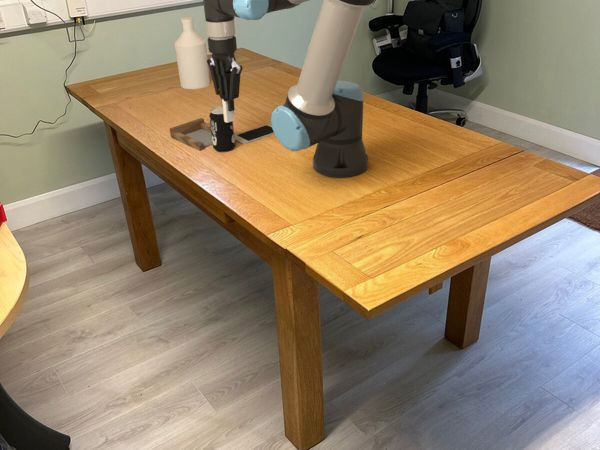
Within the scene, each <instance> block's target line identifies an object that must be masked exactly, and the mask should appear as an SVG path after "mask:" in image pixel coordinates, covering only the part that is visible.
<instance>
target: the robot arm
mask: <svg viewBox="0 0 600 450" xmlns="http://www.w3.org/2000/svg"><path fill="white" fill-rule="evenodd" d="M202 1H203V10H204V17H205V18H204V19H205V21H204V22H205V30H206V36H207V37H208V38H207V47H208V49H207V50H208V52H209V53H210V54H211V58H209V59H208V60H207V64H208V68H209V73H210V74H211V79H212V84H213V88H214V92H215V95H217V96H219V98H220V100H221V106H222V108H223V114H224V122H227V123H228V122H231V121H233V122H234V121H236V116H235V110H236V109H235V99H239V97H240V87H241V75H242V74H241V73H242V72H243V66H242V64H241V65H238V64H237V62H236V61H237V59H236V56H235V53H236V52H237V50H238V47H237V37H236V36H235V34H236V25H235V18H240V19H243V20H246V21H259V20H261V19H262V18H263V17H264V16H265V15H266V14H269V13H273V12H277V11H282V10H289V9H290V10H291V9H293V8H295V7H298V6H300V5H302V3H305V2H309V1H310V0H202ZM375 1H376V0H322V2H321V5H320V9H319V12H318V17H317V19H316V22H315V25H314V28H313V31H312V36H311V39H310V40H309V45H308V48H307V51H306V55H305V58H304V61H303V65H302V68H301V71H300V75H299V78H298V81H297V84H294V85H292V86H291V87H290V88H289V89H288V92H287V95H286V98H285V102H284V103H283V105H277V107H276V108H274V109H273V111H272V113H271V117H270V118H271V119H270V121H271V123H270V124H272V129H273V131H274V133H275V134H274V135H275V136H274V137H276V138H275V139H277V140H278V142H279V144H280V145H282V147H283V148H285V149H287V150H289V151H292V152H300V151H303V150H307V149H309V148H311V147H312V146H315V145H316V147H315V152H314V154H313V157H312V168H313V170H315V172H316V173H318V174H321V175H322V176H326V177H331V178H348V177H349V178H350V177H351V178H352V177H356V176H358V175H361V174H363V173H364V172H366V171H367V170H368V168H369V156H368V154H367V152H366V147H365V143H364V141H363V125H364V124H363V123H364V120H363V119H364V101H365V100H364V90H363V88H362V87H361V85H359V84H358V83H355V82H352V81H346V80H339V77H340V74H341V72H342V71H343V70H342V69H343V67H344V64H345V61H346V59H347V55H348V53H349V50H350V48H351V45H352V42H353V39H354V37H355V34H356V32H357V28H358V26H359V24H360V20H361V19H362V18H361V17H362V14H363V12H364V9H366V8H367V7H371V5H373V4H374V3H375Z"/></svg>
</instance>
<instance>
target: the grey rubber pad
mask: <svg viewBox="0 0 600 450" xmlns="http://www.w3.org/2000/svg"><path fill="white" fill-rule="evenodd" d="M186 136H189V137H191V138H193V139H195V140H198V141H200V142H202V143H203V144H204V149H205V148H207V147H209V146H213V142H212V134H211V133H210V132H208V131H206V130H203V129H200V130H198V131H195V132H192V133H189V134H186Z"/></svg>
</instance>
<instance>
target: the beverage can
mask: <svg viewBox="0 0 600 450" xmlns="http://www.w3.org/2000/svg"><path fill="white" fill-rule="evenodd" d="M209 111H210V113H209V124H210V126H211V134H212V142H213V145H212V147H213V149H214V150H215V151H216V152H219V153H228V152H230V151H233V150H234V148H235V147H236V140H235V138H234V135H235V129H234V128H235V127H234V121H231V122H228V123H227V122H224V114H223V108H222V105H221V106H215V107H213V108H211V109H210V110H209Z"/></svg>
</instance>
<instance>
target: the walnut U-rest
mask: <svg viewBox="0 0 600 450" xmlns="http://www.w3.org/2000/svg"><path fill="white" fill-rule="evenodd" d="M201 129H203V130H206V131H208V132H210V133H211V126H210V123H207V122H206V121H205V119H204V118H202V117H200V118H196V119H194V120H191V121H188V122H185V123H182V124H179V125H176V126H173V127H169V133H170V139H172V140H173V139H174V140H175V141H178V142H180V143H182V144H185V145H187V146H189V147H191V148H193V149H195V150H197V151H203V150H205V148H204V144H203V143H202V142H200V141H198V140H195V139H193V138H191V137H189V136H186V134H189V133H192V132H195V131H198V130H201Z"/></svg>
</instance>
